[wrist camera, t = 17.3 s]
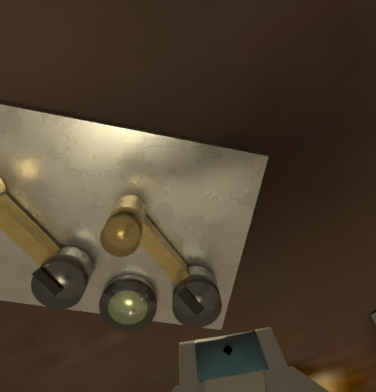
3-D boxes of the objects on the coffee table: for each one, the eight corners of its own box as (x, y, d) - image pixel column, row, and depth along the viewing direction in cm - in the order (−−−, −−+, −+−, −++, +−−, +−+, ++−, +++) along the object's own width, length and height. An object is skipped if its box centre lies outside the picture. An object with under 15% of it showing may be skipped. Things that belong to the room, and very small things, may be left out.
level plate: (-18, 97, 25) (-47, 98, 22) (262, 152, 28) (274, 160, 24) (-20, 287, 30) (-44, 312, 27) (217, 320, 33) (222, 346, 29)
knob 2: (101, 212, 26) (83, 241, 21) (139, 183, 26) (131, 207, 21) (189, 312, 30) (193, 359, 24) (225, 289, 29) (237, 332, 24)
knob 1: (-42, 190, 25) (-99, 216, 20) (-7, 159, 25) (-55, 177, 19) (68, 295, 29) (45, 341, 23) (102, 270, 28) (86, 311, 23)
